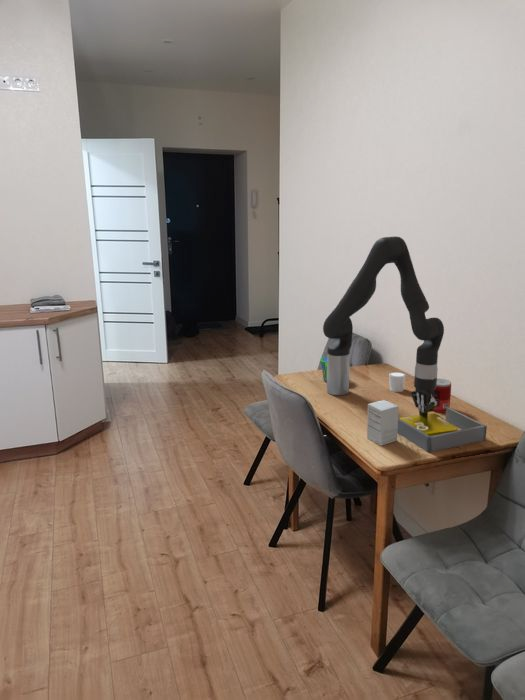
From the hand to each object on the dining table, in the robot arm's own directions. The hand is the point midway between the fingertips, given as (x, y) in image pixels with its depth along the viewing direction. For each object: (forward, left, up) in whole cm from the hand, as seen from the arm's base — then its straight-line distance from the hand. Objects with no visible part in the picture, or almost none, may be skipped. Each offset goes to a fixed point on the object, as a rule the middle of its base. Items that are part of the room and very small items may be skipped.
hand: (423, 420), depth 185 cm
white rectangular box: (+4, -20, -2) cm, 20 cm away
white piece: (-36, +14, -2) cm, 38 cm away
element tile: (+6, -3, -2) cm, 7 cm away
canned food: (-11, +16, -2) cm, 19 cm away
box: (+9, 0, -2) cm, 9 cm away
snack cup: (-59, -5, -2) cm, 59 cm away
